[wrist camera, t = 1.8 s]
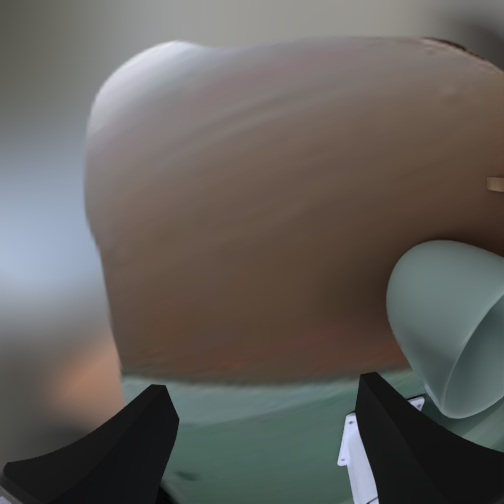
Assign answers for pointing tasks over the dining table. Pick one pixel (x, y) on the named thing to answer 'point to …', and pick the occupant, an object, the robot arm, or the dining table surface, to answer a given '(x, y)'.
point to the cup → (451, 322)
